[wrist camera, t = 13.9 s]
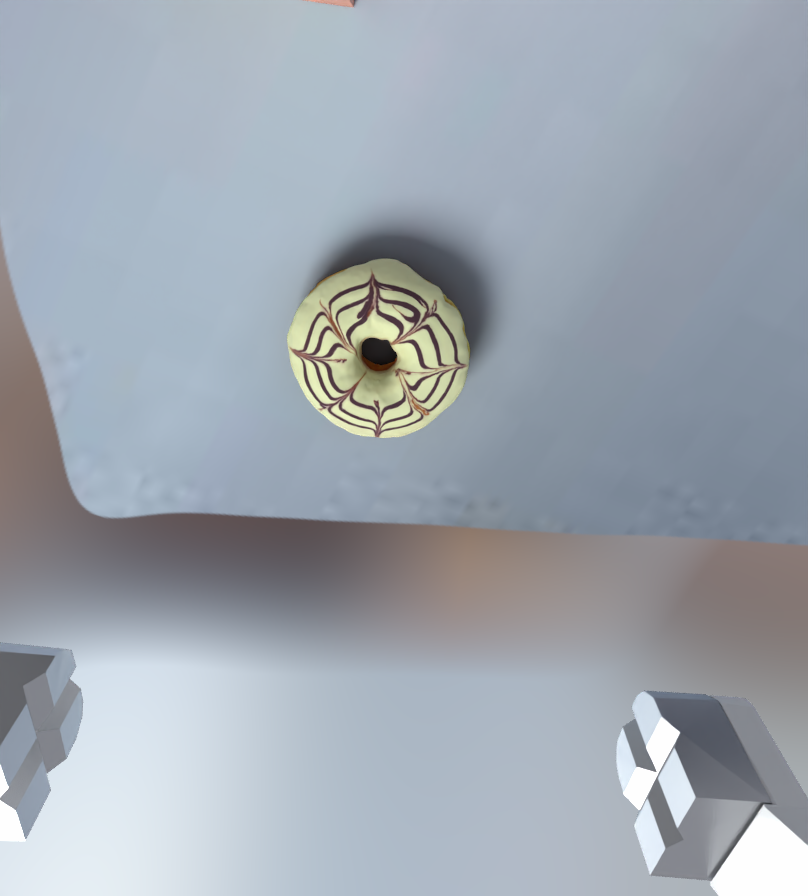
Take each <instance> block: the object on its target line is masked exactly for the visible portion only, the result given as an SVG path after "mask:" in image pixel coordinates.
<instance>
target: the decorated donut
mask: <svg viewBox="0 0 808 896" xmlns="http://www.w3.org/2000/svg"><path fill="white" fill-rule="evenodd" d="M367 338H378V339H381V340H389V342H390V344H391V346H392V348H393V350H394V351H395V352H396V354H397V357H396V359H395V361H394V362H392V363H389V364H385V365H379V364H374V363H372V362H370V361H369V360H368V359H366V358H364V357H363V355H362V343H363V341H364V340H366V339H367ZM287 343H288V349H289V354H290V362H291V366H292V369H293V371H294V374H295V376H296V378H297V380H298V382H299V385H300V387H301V388H302V390H303V392H304V394H305V396H306V397H307V398H308V400H309V401H310V402H311V403H312V405H313V406H314V407H315V408H316V409H317V410H318V411H319V412H320V413H322V414H323V415H324V416H325V417H326V418H327V419H329V420H330V421H331V422H333V423H334V424H335V425H337V426H339V427H341V428H344V429H345V430H347V431H348V432H350V433H353V434H357V435H361V436H371V437H379V438H388V437H401V436H404V435H407V434H409V433H412V432H415V431H417V430H419V429H421V428H423V427H425V426H426V425H427V424H429V423H430V422H431V421H432V420H434V419H435V418H436V417H437V416H438V415H439V414H440V413H441V412H442V411H444V410H445V409H446V408H447V407H449V406H450V405H451V404H452V403H453V402H454V401H455V400H456V398H457V397H458V395H459V394H460V392H461V390H462V389H463V387H464V384H465V381H466V377H467V371H468V367H469V358H470V347H469V343H468V340H467V338H466V334H465V329H464V322H463V320H462V316H461V314H460V312H459V310H458V309H457V307H456V306H455V305H454V303H453V302H452V301H451V300H449V299H448V298H447V297H446V296H445V295H444V294H443V293H442V291H441V289H440V288H439V287H437V286H436V285H434V284H432V283H431V282H429V281H427V280H425V279H424V278H422V277H421V276H420V275H418V274H417V273H415V272H414V271H413V270H412V269H411V268H410V267H409V266H407V265H406V264H403V263H401V262H400V261H398V260H394V259H376V260H372V261H369V262H367V263H365V264H361V265H356V266H352V267H350V268H348V269H344V270H341V271H339V272H336V273H334V274H333V275H330V276H328V277H327V278H325V279H323V280H322V281H321V282H319V283H318V284H317V285H316V287H315V288H314V289H313V290H312V291H311V292H310V293H309V295H308V296H307V297H306V298H305V299H304V300H303V302H302V303H301V304H300V306H299V308H298V309H297V311H296V314H295V316H294V319H293V322H292V324H291V327H290V330H289V332H288V335H287Z"/></svg>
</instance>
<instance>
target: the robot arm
mask: <svg viewBox="0 0 808 896" xmlns="http://www.w3.org/2000/svg"><path fill="white" fill-rule="evenodd" d="M75 668H76V664H75V660H74V657H73V653H72V650H67V649H60V648H50V647H40V646H30V645H20V644H11V643H1V642H0V840H12V841H13V840H14V841H25V840H26V838H27V836H28V834H29V832H30V830H31V828H32V826H33V824H34V822H35V820H36V819H37V817H38V814H39V812H40V811H41V809H42V807H43V805H44V803H45V800H46V799H47V797H48V795H49V793H50V791H51V789H50V785H49V780H48V776H47V773H48V772H49V771H51V770H52V769H53V768H55V767H56V766H57V765H59V764H60V763H61V762H63V761H64V760H65V759H66V758H67V757H68V754H69V752H70V750H71V748H72V746H73V744H74V742H75V740H76V737H77V734H78V730H79V726H80V723H81V719H82V711H83V698H82V693H81V689H80V688H79V687H78V686H77V685H76V684H75V683H74V682H73V681H71V680H70V677H71V675H72V673H73V671H74V670H75ZM632 710H633V713H634V715H635V718H636V719H634V720H633V721H631V722H629V723H628V724H626V725H625V726H623V727H622V730H621V732H620V735H619V738H618V740H617V750H616V764H617V771H618V777H619V780H620V783H621V786H622V790H623V793H624V795H625V796H626V797H627V798H628V799H629V800H630V801H631V802H632V803H633V804H634V805H635V806H636V807H637V808H638V809H639V812H638V815H637V818H636V821H635V824H634V828H635V831H636V834H637V837H638V840H639V843H640V846H641V849H642V852H643V855H644V858H645V861H646V864H647V867H648V870H649V874H650V875H651V876H662V877H675V878H687V879H697V880H709V881H711V883H710V885H711V886H712V888H713V889H714V890H715V891H716V892H717V894H718V895H719V896H808V798H807V796H806V794H805V793H804V791H803V789H802V788H801V786H800V784H799V783H798V781H797V779H796V777H795V776H794V774H793V772H792V771H791V769H790V767H789V766H788V764H787V762H786V760H785V759H784V757H783V755H782V753H781V752H780V750H779V748H778V747H777V745H776V743H775V741H774V740H773V738H772V736H771V735H770V733H769V731H768V730H767V728H766V726H765V724H764V723H763V721H762V719H761V718H760V716H759V714H758V712H757V711H756V709H755V707H754V706H753V705H752V704H751V703H750V702H749V701H748V700H747V699H746V698H738V697H725V696H708V695H706V694H689V693H672V692H656V691H643V692H641V693H640V694H638V695H637V697H636V699H635V701H634V703H633V705H632Z"/></svg>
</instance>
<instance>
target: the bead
mask: <svg viewBox="0 0 808 896" xmlns="http://www.w3.org/2000/svg"><path fill="white" fill-rule="evenodd" d="M305 1H312V2H319V3H326V4H333V5H340V6H347V7H354V0H305Z"/></svg>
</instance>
